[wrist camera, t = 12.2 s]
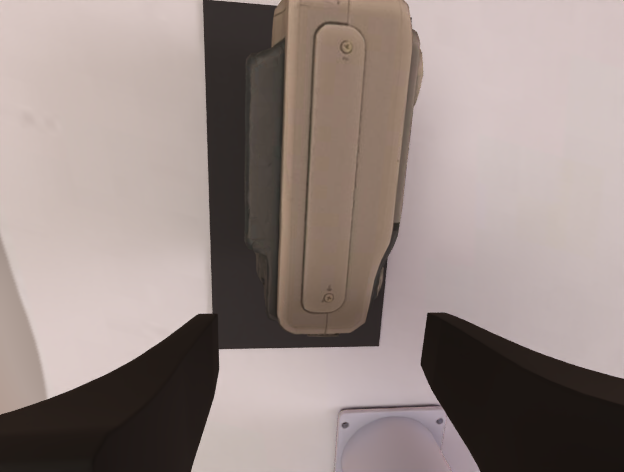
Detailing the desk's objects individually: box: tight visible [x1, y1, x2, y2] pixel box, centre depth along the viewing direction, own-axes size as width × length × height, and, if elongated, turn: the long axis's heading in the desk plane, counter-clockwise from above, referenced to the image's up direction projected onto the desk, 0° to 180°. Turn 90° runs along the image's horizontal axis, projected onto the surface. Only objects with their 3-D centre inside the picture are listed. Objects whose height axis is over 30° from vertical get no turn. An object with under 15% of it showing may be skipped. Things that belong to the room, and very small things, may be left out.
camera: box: [245, 0, 423, 337], centre depth 15 cm, size 11×6×10 cm, turn 175°
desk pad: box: [203, 0, 412, 349], centre depth 21 cm, size 20×11×1 cm, turn 178°
